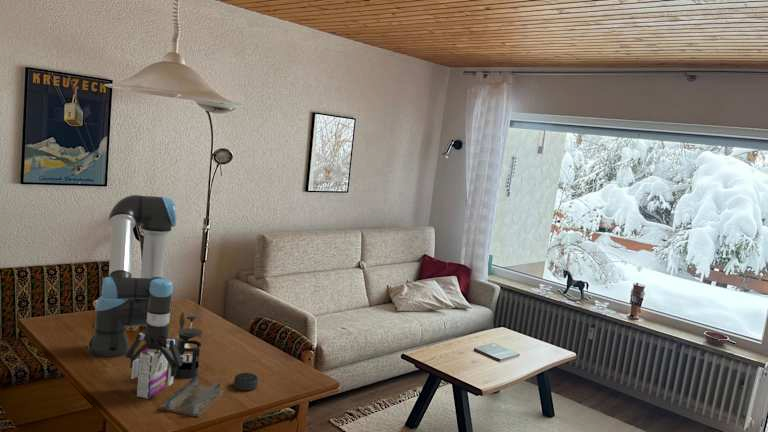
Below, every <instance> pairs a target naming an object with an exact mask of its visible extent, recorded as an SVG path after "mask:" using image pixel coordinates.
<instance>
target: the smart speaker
mask: <svg viewBox="0 0 768 432" xmlns="http://www.w3.org/2000/svg"><path fill="white" fill-rule="evenodd" d="M258 384H259V378H258V376H257V375H256V374H253V373H250V372H241V373H238V374H236V375H235V376H234V379H233V386H234V387H235V388H236V389H238V390H240V391H245V392H246V391H248V392H249V391H252V390H255V389H256V388H258Z"/></svg>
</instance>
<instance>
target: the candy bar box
mask: <svg viewBox="0 0 768 432" xmlns="http://www.w3.org/2000/svg"><path fill="white" fill-rule="evenodd" d="M167 346H168V349H169V350H170V346H169V345H168V344H167ZM163 349H164V347H163ZM138 359H139V365H138V376H137V386H136V397H138V398H140V399H141V398H142V399H147V400H149V399H151V398H152V397H154V396H155V395H156V394H159V392H161V391H162V390H164V389H165V388H167V380H168V365H169V363H168V361H167V359H166V358H165V356H164V355H163V353H162V352H160V350H156V349H150V348H149V347H148V348H147V349H145V350H143V351H142V352H140V355H139V358H138Z"/></svg>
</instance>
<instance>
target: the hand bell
mask: <svg viewBox="0 0 768 432" xmlns="http://www.w3.org/2000/svg"><path fill="white" fill-rule="evenodd" d="M186 317H187V316H186V312H185V311H181V314H180V316H179V321H178V322H179V330H181V329H185V324H186V321H187V318H186ZM174 338H175V339H176V346H177V343H178V340H181V339H180V338H179V334H178V333H177V335H175V337H174ZM188 346H189V343H187V344H185V348H188ZM189 348H191V345H190V346H189Z"/></svg>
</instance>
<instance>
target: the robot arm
mask: <svg viewBox="0 0 768 432" xmlns="http://www.w3.org/2000/svg"><path fill="white" fill-rule="evenodd" d="M108 225H109V228H111V230H110V247H109V249H110V250H109V264H108V265H109V266H108V269H109V270H108V276H107V277H104V278H102V286H101V296H100V297H98V299H97V300H96V302H97V303H96V307H95V321H94V331H93V334H92V336H91V338H90V340H89V343H88V345H87V346H88V347H87V352H88V353H89V354H90V355H93V356H95V357H100V358H101V357H103V358H104V357H105V358H110V357H118V356H123V355H125V357H126V358H129V359H130V365H129V367H130V369H131V379H132V380H133V379H135V378H138V373H139V359H140V358H138V357H140V352H142V351H143V350H145V349H147V348H150V349H156V350H160V352H162V353H163V355H164V356H165V358H166V359H167V361H168V365H170V367H169V368H168V372H167V382H166V387H170V386H171V385H173V383H174V379H175V378H174V377H176V376H175V375H176V371H177V367H180V366H181V365H182V364H183V363H182V360H181V357H180V354H179V351H178V348H177V346H176V339H175V337H174V338H172V339H171V338H169V337H168V335H169V327H170V324H169V323H170V317H171V305H172V298H173V297H172V296H173V292H174V289H173V286H174V282H173V281H172V280H170V279H167V278H164V277H163V275H164V266H165V257H166V247H167V237H168V234H169V233H171V232H172V228H173V227H176V225H177V209H176V203H175V200H174V199H173V198H170V197H163V196H151V195H139V194H133V195H132V194H131V195H128V196H125V197H124V198H122V199H120V200H119V201H117V203H115V205H114V206H113V207H112V209H111V210H110V214H109V216H108ZM136 225H140V229H141V230H142V231H143V233H144V237H143V245H142V246H143V248H142V255H141V268H140V269H141V270H140V277H132V274H133V273H132V270H133V269H132V268H133V237H134V236H133V235H134V234H133V233H134V232H133V231H134V230H133V229H134V228H135V227H136ZM127 327H145V332H144V333H145V334H144V333H143V332H139V333H137V334H136V337H135V339H134V342H133V343H132V344H131V346H130V343H129V339H128V336H127V332H126V331H127ZM142 340H144V342H145V344H143V345H142V346H141V347H140V348H139V349H138V350H137V348H138V347H139V346H140V343H142ZM167 345H169V349H168V346H167ZM163 347H164V349H163ZM136 350H137V351H136ZM135 351H136V352H135Z"/></svg>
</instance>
